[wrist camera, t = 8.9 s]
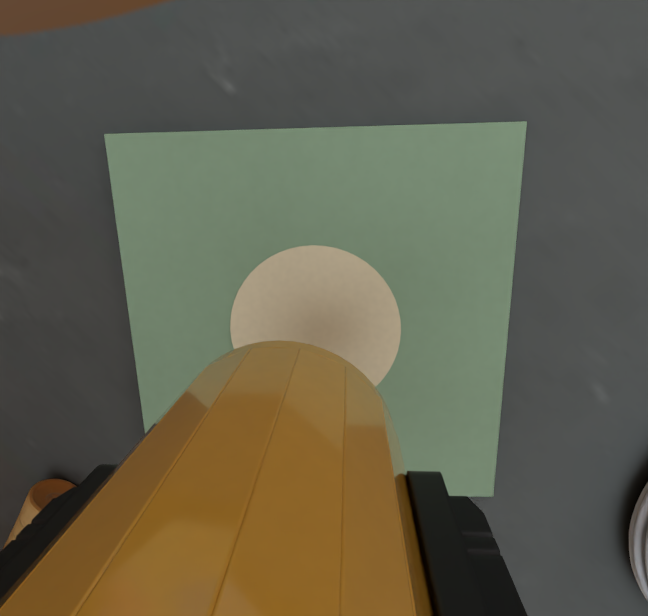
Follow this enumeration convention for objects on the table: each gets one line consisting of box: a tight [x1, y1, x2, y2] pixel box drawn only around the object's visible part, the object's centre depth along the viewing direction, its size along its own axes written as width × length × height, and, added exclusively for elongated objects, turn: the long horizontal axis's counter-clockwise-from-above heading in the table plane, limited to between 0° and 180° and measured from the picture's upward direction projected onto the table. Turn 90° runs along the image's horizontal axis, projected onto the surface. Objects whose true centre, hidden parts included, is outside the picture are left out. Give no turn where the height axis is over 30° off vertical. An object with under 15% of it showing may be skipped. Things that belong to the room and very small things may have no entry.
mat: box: [104, 121, 527, 497], centre depth 23 cm, size 20×20×1 cm
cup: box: [0, 340, 435, 616], centre depth 8 cm, size 6×6×9 cm
